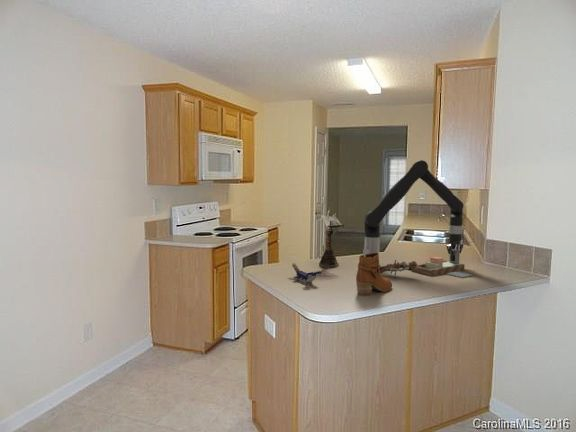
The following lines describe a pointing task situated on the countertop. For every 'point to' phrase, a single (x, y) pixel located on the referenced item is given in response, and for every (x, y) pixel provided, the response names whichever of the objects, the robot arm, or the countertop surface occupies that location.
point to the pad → (459, 274)
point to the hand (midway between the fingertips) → (454, 260)
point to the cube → (437, 260)
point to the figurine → (398, 267)
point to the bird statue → (329, 241)
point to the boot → (370, 275)
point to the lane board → (437, 269)
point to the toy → (305, 275)
